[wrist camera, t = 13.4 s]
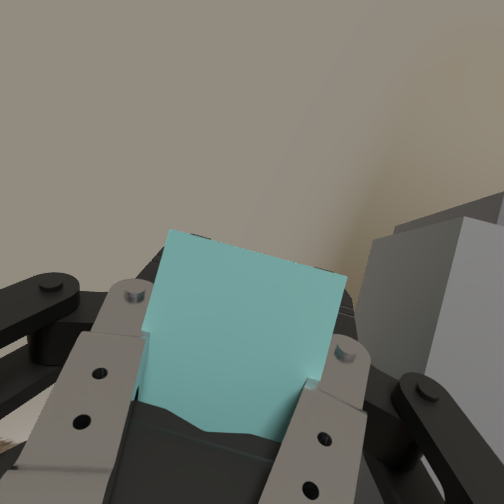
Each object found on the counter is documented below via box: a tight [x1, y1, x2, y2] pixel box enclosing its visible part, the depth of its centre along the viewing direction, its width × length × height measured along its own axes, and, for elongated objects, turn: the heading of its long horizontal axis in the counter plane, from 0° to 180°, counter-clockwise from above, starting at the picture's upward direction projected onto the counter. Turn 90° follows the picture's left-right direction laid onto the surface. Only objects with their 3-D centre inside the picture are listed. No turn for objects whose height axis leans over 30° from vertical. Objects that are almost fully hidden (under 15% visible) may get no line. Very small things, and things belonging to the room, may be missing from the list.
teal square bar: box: [140, 229, 347, 443], centre depth 18 cm, size 4×20×4 cm, turn 178°
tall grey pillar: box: [354, 192, 504, 504], centre depth 21 cm, size 10×13×34 cm
